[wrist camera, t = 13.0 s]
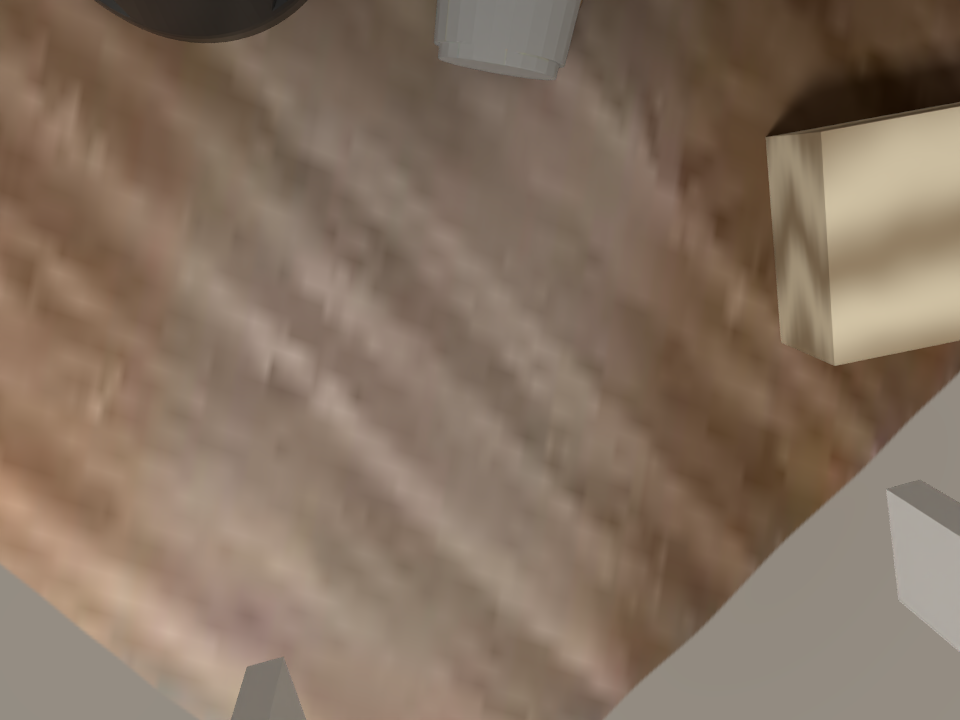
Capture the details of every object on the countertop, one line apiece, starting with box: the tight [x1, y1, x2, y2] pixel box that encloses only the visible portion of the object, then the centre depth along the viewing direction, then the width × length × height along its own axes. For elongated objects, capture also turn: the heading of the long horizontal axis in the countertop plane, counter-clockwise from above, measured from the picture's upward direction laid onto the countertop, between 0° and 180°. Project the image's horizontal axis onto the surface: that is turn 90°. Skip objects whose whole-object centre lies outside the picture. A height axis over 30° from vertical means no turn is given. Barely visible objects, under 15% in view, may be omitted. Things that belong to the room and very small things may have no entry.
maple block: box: [766, 102, 960, 366], centre depth 42 cm, size 12×12×6 cm
